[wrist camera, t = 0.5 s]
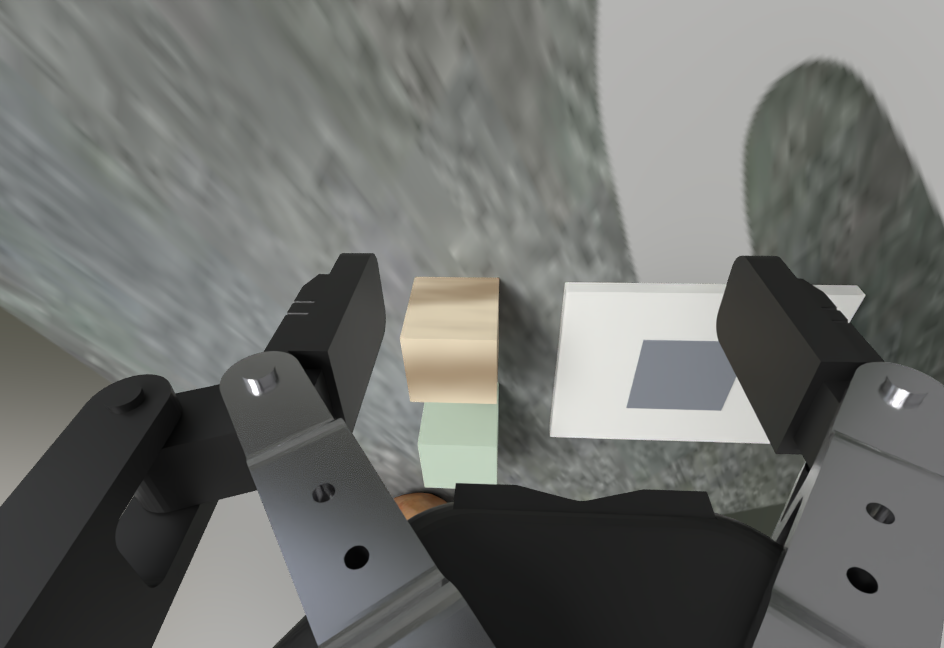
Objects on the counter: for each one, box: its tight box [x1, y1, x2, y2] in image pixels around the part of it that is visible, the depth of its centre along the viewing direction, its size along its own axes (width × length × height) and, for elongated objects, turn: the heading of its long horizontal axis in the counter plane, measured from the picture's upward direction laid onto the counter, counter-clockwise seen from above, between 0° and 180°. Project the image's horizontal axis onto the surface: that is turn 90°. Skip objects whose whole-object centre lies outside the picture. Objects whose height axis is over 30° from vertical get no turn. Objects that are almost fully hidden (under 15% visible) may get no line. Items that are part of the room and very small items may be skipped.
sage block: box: [418, 383, 499, 488], centre depth 40 cm, size 6×6×6 cm
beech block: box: [400, 277, 499, 404], centre depth 33 cm, size 6×6×6 cm
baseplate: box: [550, 282, 865, 444], centre depth 37 cm, size 15×18×1 cm
